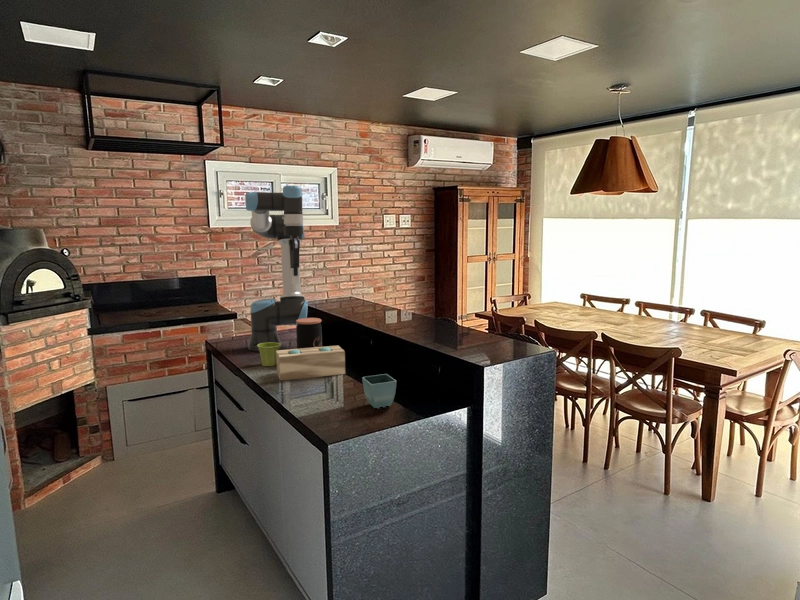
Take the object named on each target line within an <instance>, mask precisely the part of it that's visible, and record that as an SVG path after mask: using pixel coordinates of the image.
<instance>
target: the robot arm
mask: <svg viewBox="0 0 800 600" xmlns="http://www.w3.org/2000/svg"><path fill="white" fill-rule="evenodd" d="M302 189H303V188H302V187H301V186H299V185H285V186H283V187H282V192H274V191H273V192H272V191H271V192H268V191H267V192H265V191H250V192H246V193H245V197H244V199H245V209H246V211H248V212H251V218H250V222H249V224H250V227H251V229H252V230H253V232H254V233H256V234H257V235H258V236H260V237H262V238H266V239H269V240H270V239H271V240H273V239H274V240H277V244H278V245H279V246H280V253H281V254H280V255H281V277H282V279H281V280H282V294H281V295H280V297H279V301H276V299H275V298H262V299H257V300H255V301H253V302H252V303H251V304H250V311H249V313H250V327H251V329H250V330H251V334H250V337H249V341H248V343H247V349H248V350H249V351H251V350H252V352H260V351H259V349H258V347H257V345H258V344H260V343H268V342H275V343H280V346H279V349H281V348H282V342H281V340H280V337H279V334H278V331H277V326H279V327H281V326H297V323H296V320H298V319H302V318H308V309H309V308H308V306H309V301H308V300H307V299H305V298H306V297H305V295H304V294H302V285H301V267H300V266H301V264H300V262H301V261H300V245H301V243H302V242H303V239H304V238H305V228H304V215H303V190H302ZM270 212H283V214H270Z"/></svg>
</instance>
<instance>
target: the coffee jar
mask: <svg viewBox="0 0 800 600" xmlns="http://www.w3.org/2000/svg"><path fill="white" fill-rule="evenodd" d="M321 322H322V319H321V318H318V317H307V318H302V319H298V320H296V323H297V325H295V327H296V349H302V348H314V347H323V330H322V329H323V328H322V324H321Z"/></svg>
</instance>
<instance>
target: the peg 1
mask: <svg viewBox="0 0 800 600" xmlns="http://www.w3.org/2000/svg"><path fill="white" fill-rule="evenodd" d="M290 354H300V350H291V351H290Z"/></svg>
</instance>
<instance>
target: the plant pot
mask: <svg viewBox="0 0 800 600" xmlns="http://www.w3.org/2000/svg"><path fill="white" fill-rule="evenodd" d="M279 346H280V343H275V342H268V343H260V344H258V345H257V347H258V349H259V351H258V352H259V355H260V361H261V365H262V366H263V367H274V366H277V359H276V351H278V350H280V348H279Z"/></svg>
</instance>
